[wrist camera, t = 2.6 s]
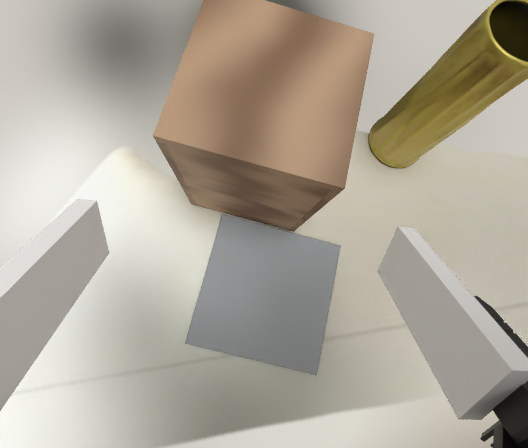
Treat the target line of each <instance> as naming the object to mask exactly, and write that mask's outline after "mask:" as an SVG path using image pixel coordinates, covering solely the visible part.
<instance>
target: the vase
mask: <svg viewBox="0 0 528 448" xmlns="http://www.w3.org/2000/svg"><path fill="white" fill-rule="evenodd" d="M526 79H528V0H496V1H495V2H494V3H493V4H492V5H491V6H490V7H488V9H486V10H485V11H484V12H483V13H482V14H481V15H480V16H479V17H478V18H477V20H475V22H474V23H473V24H472V25H471V26H470V27H469V28H468V29H467V30H466V31H465V32H464V33H463V34H462V35H461V36H460V37H459V39H458V40H457V41H456V42H455V43H454V44H453V45H452V46H451V47H450V48H449V49H448V50H447V51H446V52H445V53H444V54H443V55H442V57H441V58H440V59H439V60H438V61H437V62H436V64H434V66H433V67H432V68H431V69H430V70H429V71H428V72H427V73H426V74H425V75H424V76H423V77H422V78H421V79H420V80H419V81H418V82H417V83H416V84H415V85H414V86H413V87H412V88H411V89H410V90H409V91H408V92H407V93H406V94H405V95H404V96H403V97H402V99H400V100H399V102H397V103H396V104H395V105H394V107H393V108H392V109H391V110H390V111H389V112H388V113H387V114H386V115H385V116H384V117H382V118H381V119H379V120H378V121H377V122H376V123H375V124H374V125H373V127H372V128H371V131H370V134H369V143H370V147H371V149H372V151H373V153H374V154H375V156H376V157H377V158H378V159H379V160H380V161H381V162H383V163H384V164H386V165H388V166H391V167H396V168H402V167H407V166H410V165H411V164H413V163H414V162H416V161H417V160H418V159H419V157H420V156H422V155H423V154H424V153H426V152H427V151H429V150H430V149H432V148H433V147H435V146H436V145H437V144H439V143H440V142H441V141H443V140H444V139H446V138H447V137H449V136H450V135H452V134H453V133H454V132H456V131H457V130H458V129H460V128H461V127H463V126H464V125H465V124H467V123H468V122H469V121H470V120H472V119H473V118H474V117H475V116H477V115H478V114H479V113H481V112H482V111H483V110H484V109H486V108H487V107H488V106H489V105H490V104H492V103H493V102H495V101H496V100H497V99H499V98H500V97H501V96H503V95H504V94H506V93H507V92H508V91H510V90H511V89H513V88H514V87H516V86H517V85H519V84H520V83H522V82H523V81H525V80H526Z"/></svg>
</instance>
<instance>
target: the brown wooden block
mask: <svg viewBox="0 0 528 448" xmlns="http://www.w3.org/2000/svg"><path fill="white" fill-rule="evenodd" d="M373 37H374V34H373V33H370V32H367V31H364V30H360V29H357V28H354V27H351V26H347V25H344V24H341V23H337V22H334V21H331V20H328V19H324V18H321V17H318V16H315V15H311V14H308V13H305V12H301V11H298V10H295V9H292V8H288V7H285V6H282V5H278V4H275V3H272V2H268V1H265V0H204V1H203V3H202V6H201V9H200V11H199V14H198V17H197V19H196V22H195V25H194V27H193V30H192V33H191V36H190V38H189V41H188V44H187V46H186V49H185V52H184V54H183V57H182V60H181V62H180V65H179V67H178V70H177V73H176V76H175V79H174V81H173V84H172V86H171V89H170V92H169V94H168V97H167V100H166V102H165V105H164V108H163V111H162V113H161V116H160V118H159V121H158V124H157V126H156V129H155V132H154V134H153V136H154V138H155V140H156V142H157V144H158V145H159V147H160V149H161V151H162V152H163V154H164V156H165V158H166V159H167V161H168V163H169V165H170V167H171V168H172V170H173V172H174V174H175V175H176V177H177V179H178V181H179V182H180V184H181V186H182V188H183V189H184V191H185V193H186V195H187V197H188V198H189V200H190V202H191V204H193V205H197V206H201V207H205V208H209V209H212V210H216V211H220V212H224V213H227V214H231V215H235V216H239V217H243V218H246V219H250V220H254V221H258V222H261V223H265V224H269V225H273V226H276V227H280V228H284V229H288V230H292V231H295V230H296V229H297V228H298V227H299V226H301V225H302V224H303V223H304V222H305V221H306V220H308V219H309V218H310V217H311V216H312V215H314V214H315V213H316V212H317V211H318V210H320V209H321V208H322V207H323V206H324V205H326V204H327V203H328V202H329V201H330V200H331V199H333V198H334V197H335V196H336V195H337V194H339V193H340V192H341V191H342V190H343V189H345V184H346V178H347V173H348V168H349V163H350V158H351V152H352V147H353V142H354V137H355V131H356V126H357V121H358V116H359V111H360V105H361V100H362V95H363V90H364V85H365V79H366V74H367V69H368V64H369V58H370V53H371V48H372V43H373Z"/></svg>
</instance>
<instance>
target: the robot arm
mask: <svg viewBox="0 0 528 448" xmlns="http://www.w3.org/2000/svg"><path fill="white" fill-rule="evenodd" d="M108 254H109V250H108V246H107V242H106V238H105V233H104V229H103V225H102V221H101V217H100V212H99V208H98V204H97V201H92V200H80V199H77V200H76V201H75V202H74V203H72V204H71V205H70V206H69V207H68V208H67V209H66V210H64V211H63V212H62V213H61V214H60V215H59V216H58V217H57V218H55V219H54V220H53V221H52V222H51V223H50V224H49V225H48V226H46V227H45V228H44V229H43V230H42V231H41V232H40V233H39V234H37V235H36V236H35V237H34V238H33V239H32V240H31V241H30V242H28V243H27V244H26V245H25V246H24V247H23V248H22V249H20V250H19V251H18V252H17V253H16V254H15V255H14V256H13V257H12V258H10V259H9V260H8V261H7V262H6V263H5V264H3V266H1V267H0V411H1V409H2V408H3V406H4V405H5V403H6V402H7V400H8V399H9V397H10V396H11V395H12V393H13V392H14V390H15V389H16V387H17V386H18V384H19V383H20V381H21V380H22V379H23V377H24V376H25V374H26V373H27V371H28V370H29V368H30V367H31V366H32V364H33V363H34V361H35V360H36V358H37V357H38V355H39V354H40V352H41V351H42V350H43V348H44V347H45V345H46V344H47V342H48V341H49V339H50V338H51V336H52V335H53V334H54V332H55V331H56V329H57V328H58V326H59V325H60V323H61V322H62V320H63V319H64V318H65V316H66V315H67V313H68V312H69V310H70V309H71V307H72V306H73V305H74V303H75V302H76V300H77V299H78V297H79V296H80V294H81V293H82V291H83V290H84V289H85V287H86V286H87V284H88V283H89V281H90V280H91V278H92V277H93V275H94V274H95V273H96V271H97V270H98V268H99V267H100V265H101V264H102V262H103V261H104V259H105V258H106V257H107V255H108ZM378 273H379V275H380V276H381V278H382V280H383V282H384V284H385V286H386V287H387V289H388V291H389V293H390V295H391V297H392V298H393V300H394V302H395V304H396V306H397V308H398V309H399V311H400V313H401V315H402V317H403V319H404V320H405V322H406V324H407V326H408V328H409V330H410V331H411V333H412V335H413V337H414V339H415V340H416V342H417V344H418V346H419V348H420V350H421V351H422V353H423V355H424V357H425V359H426V361H427V362H428V364H429V366H430V368H431V370H432V372H433V373H434V375H435V377H436V379H437V381H438V383H439V384H440V386H441V388H442V390H443V392H444V394H445V395H446V397H447V399H448V401H449V403H450V404H451V406H452V408H453V410H454V412H455V414H456V415H457V417H458V419H475V420H481V419H483V418H484V417H485V416H486V415H487V414H489V413H490V412H491V411H492V410H493V411H494V412H495V414H496V415H497V417H498V418H499V421H498V422H496V423H495V424H494V425H493V426H491V427H490V428H489V429H487V430H486V431H485V432H484V433H482V436H481V438H480V439H481V440H483V441H486V440H487V439H489V438H490V437H491V436H494V442H493V443H492V444H491V447H493V448H528V347H527V346H526V344H525V343H524V342H523V341H522V340H521V339H520V338H519V337H518V336H517V334H514V333H513V330H512V329H511V328H510V327H509V326H508V325H507V323H504V322H503V321H504V320H503V319H502V318H501V317H500V316H499V315H498V313H497V312H496V311H495V310H494V309H493V308H492V307H491V306H489V305H488V304H487V303H485V302H484V301H483V300H481V299H480V298H479V297H477V296H473V295H472V294H471V293H470V291H469V290H468V289H467V288H466V287H465V286H464V285H463V283H462V282H461V281H460V280H459V279H458V278H457V276H456V275H455V274H454V273H453V272H452V271H451V270H450V268H449V267H448V266H447V265H446V264H445V263H444V262H443V260H442V259H441V258H440V257H439V256H438V255H437V254H436V252H435V251H434V250H433V249H432V248H431V247H430V246H429V244H428V243H427V242H426V241H425V240H424V239H423V238H422V236H421V235H420V234H419V233H418V232H417V231H416V230H415V228H410V227H399V226H398V228H397V230H396V232H395V235H394V237H393V239H392V241H391V243H390V245H389V248H388V250H387V252H386V254H385V256H384V259H383V261H382V263H381V265H380V267H379V269H378Z"/></svg>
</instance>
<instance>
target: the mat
mask: <svg viewBox="0 0 528 448" xmlns="http://www.w3.org/2000/svg"><path fill="white" fill-rule="evenodd" d="M339 252H340V245H336V244H333V243H329V242H325V241H321V240H317V239H314V238H310V237H306V236H302V235H299V234H295V233H291V232H287V231H283V230H280V229H276V228H272V227H268V226H265V225H261V224H257V223H253V222H249V221H246V220H242V219H238V218H234V217H231V216H227V215H222V218H221V221H220V225H219V228H218V232H217V235H216V239H215V242H214V246H213V249H212V252H211V256H210V259H209V263H208V266H207V270H206V273H205V277H204V280H203V283H202V287H201V290H200V294H199V297H198V301H197V304H196V308H195V311H194V314H193V318H192V321H191V325H190V328H189V332H188V335H187V339H186V342H185V344H190V345H194V346H198V347H202V348H206V349H210V350H215V351H219V352H223V353H227V354H231V355H235V356H240V357H244V358H248V359H252V360H256V361H260V362H265V363H269V364H273V365H277V366H281V367H286V368H290V369H294V370H298V371H302V372H306V373H311V374H315V375H317V370H318V365H319V359H320V354H321V349H322V343H323V338H324V332H325V327H326V322H327V316H328V311H329V306H330V300H331V295H332V289H333V284H334V279H335V273H336V268H337V263H338V257H339Z"/></svg>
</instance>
